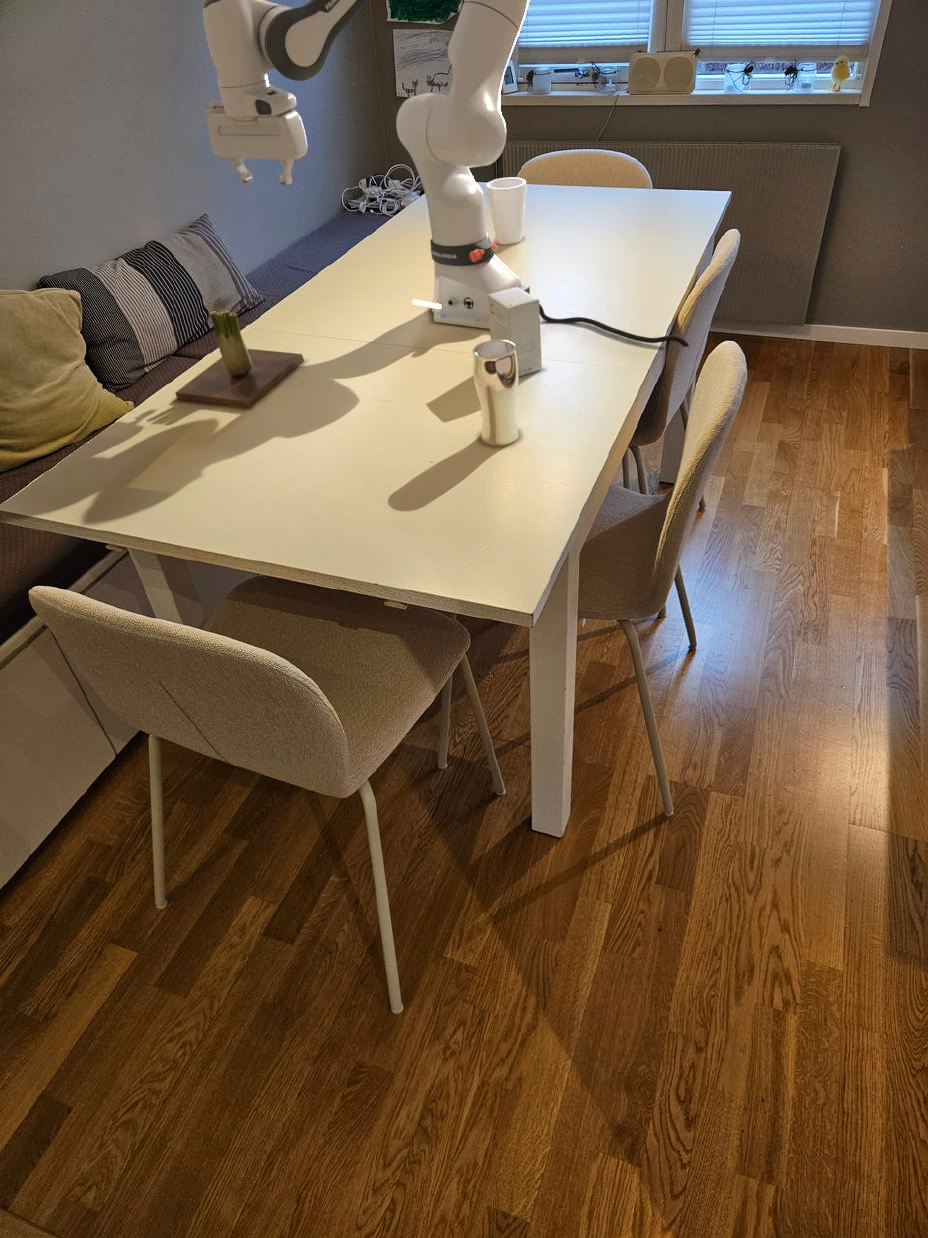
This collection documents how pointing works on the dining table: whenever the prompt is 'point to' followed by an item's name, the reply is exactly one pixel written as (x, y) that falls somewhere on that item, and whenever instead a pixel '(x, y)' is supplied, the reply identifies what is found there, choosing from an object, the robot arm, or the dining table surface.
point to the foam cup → (507, 208)
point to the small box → (517, 325)
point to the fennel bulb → (231, 343)
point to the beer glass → (496, 390)
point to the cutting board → (240, 380)
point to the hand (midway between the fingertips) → (266, 182)
